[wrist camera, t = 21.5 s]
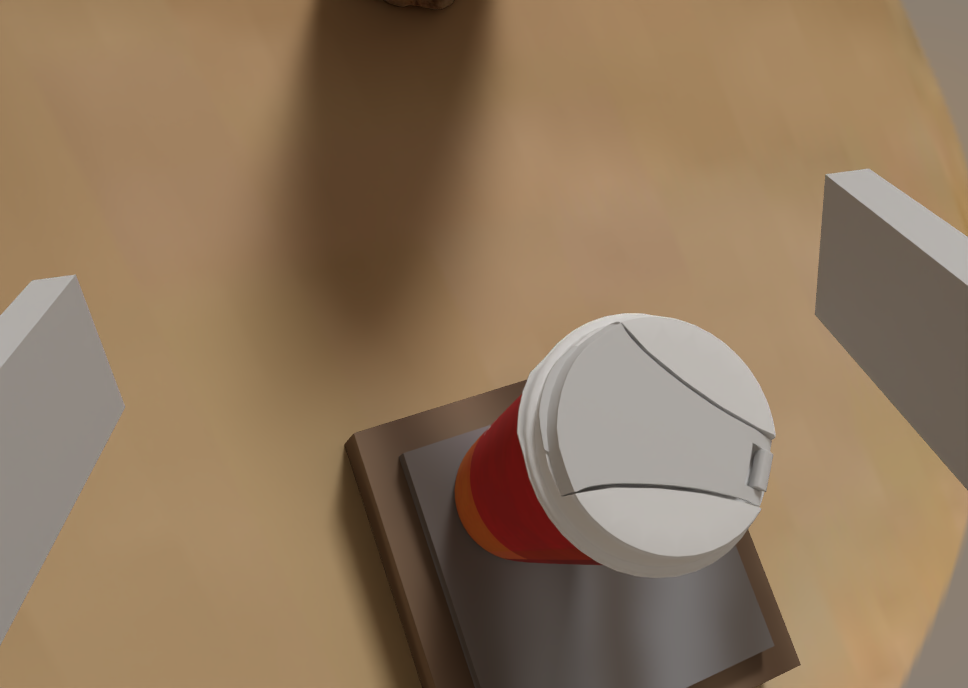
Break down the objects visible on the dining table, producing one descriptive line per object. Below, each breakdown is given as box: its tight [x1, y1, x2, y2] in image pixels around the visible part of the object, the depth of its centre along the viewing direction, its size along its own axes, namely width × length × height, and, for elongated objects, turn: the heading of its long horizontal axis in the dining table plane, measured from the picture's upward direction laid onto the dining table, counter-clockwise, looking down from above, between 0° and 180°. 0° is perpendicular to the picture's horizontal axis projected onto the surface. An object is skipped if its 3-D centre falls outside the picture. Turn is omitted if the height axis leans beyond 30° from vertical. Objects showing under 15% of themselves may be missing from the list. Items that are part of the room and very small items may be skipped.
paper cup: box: [455, 313, 775, 578], centre depth 31 cm, size 8×8×14 cm
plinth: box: [345, 380, 801, 688], centre depth 40 cm, size 16×16×4 cm
